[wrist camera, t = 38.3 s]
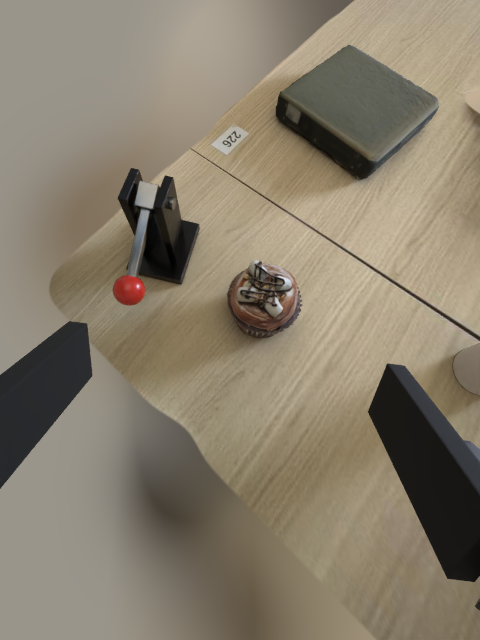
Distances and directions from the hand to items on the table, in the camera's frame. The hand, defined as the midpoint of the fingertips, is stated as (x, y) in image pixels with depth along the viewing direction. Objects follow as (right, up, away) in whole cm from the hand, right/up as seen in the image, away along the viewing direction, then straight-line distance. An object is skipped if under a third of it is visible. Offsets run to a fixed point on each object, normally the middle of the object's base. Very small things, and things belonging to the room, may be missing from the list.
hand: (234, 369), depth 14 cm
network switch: (+21, +39, +44) cm, 63 cm away
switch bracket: (-11, +13, +33) cm, 37 cm away
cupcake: (+3, +3, +30) cm, 31 cm away
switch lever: (-12, +11, +24) cm, 29 cm away
